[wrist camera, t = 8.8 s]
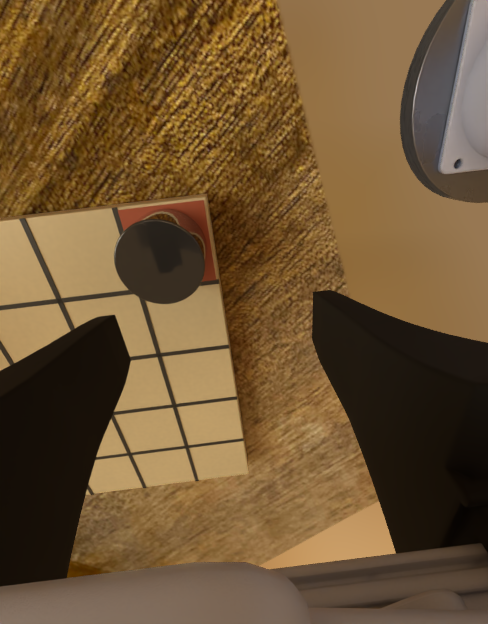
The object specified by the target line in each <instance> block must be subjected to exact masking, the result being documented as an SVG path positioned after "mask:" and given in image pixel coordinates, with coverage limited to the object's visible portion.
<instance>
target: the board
mask: <svg viewBox="0 0 488 624" xmlns="http://www.w3.org/2000/svg"><path fill="white" fill-rule="evenodd" d="M157 209H173V210H177V211H180V212H182V213H184V214H186V215H188V216H189V217H191V218H192V219H193V220H194V221H195V222H196V223H197V224H198V225H199V227H200V228H201V229H202V231H203V233H204V235H205V238H206V242H207V259H206V266H205V272H204V277H203V280H202V282H201V284H200V286H199V287H198V289H197V290H196V291H195V292H194V293H193V294H192V295H191V296H189V297H188V298H186V299H184V300H182V301H180V302H177V303H172V304H156V303H152V302H148V301H146V300H143V299H141V298H139V297H137V296H136V295H135V294H133V293H132V292H131V291H130V290H128V288H127V287H126V286H125V285H124V284H123V282H122V281H121V280H120V278H119V276H118V274H117V271H116V268H115V264H114V250H115V246H116V243H117V240H118V238H119V237H120V235H121V234H122V232H123V231H124V230H125V229H126V228H128V227H129V226H130V225H132V224H133V223H134V222H135V221H137V220H138V219H139V218H141V217H142V216H143V215H145V214H146V213H148V212H150V211H153V210H157ZM108 315H115V316H116V319H117V322H118V325H119V327H120V330H121V333H122V336H123V339H124V341H125V344H126V347H127V350H128V353H129V356H130V358H131V363H130V367H129V372H128V376H127V380H126V383H125V386H124V389H123V391H122V394H121V396H120V398H119V401H118V403H117V406H116V408H115V410H114V413H113V415H112V418H111V420H110V422H109V425H108V427H107V430H106V432H105V434H104V437H103V439H102V442H101V445H100V447H99V450H98V453H97V456H96V460H95V463H94V466H93V470H92V473H91V477H90V480H89V484H88V487H87V491H86V495H87V494H91V495H94V494H95V493H103V492H111V491H118V490H126V489H134V488H141V487H143V488H146V487H149V486H157V485H165V484H172V483H180V482H188V481H199V480H203V479H211V478H219V477H226V476H234V475H242V474H249V469H248V458H247V452H246V445H245V439H244V432H243V425H242V419H241V412H240V406H239V399H238V393H237V386H236V380H235V373H234V366H233V360H232V353H231V347H230V340H229V334H228V327H227V321H226V314H225V307H224V301H223V294H222V288H221V281H220V275H219V268H218V261H217V255H216V248H215V242H214V235H213V229H212V222H211V216H210V209H209V202H208V196H207V194H199V195H191V196H182V197H174V198H166V199H157V200H149V201H140V202H132V203H123V204H115V205H106V206H98V207H89V208H81V209H73V210H64V211H56V212H47V213H39V214H30V215H22V216H13V217H5V218H0V370H2V369H4V368H6V367H8V366H10V365H12V364H14V363H16V362H18V361H20V360H21V359H23V358H25V357H27V356H29V355H30V354H32V353H34V352H36V351H37V350H39V349H41V348H43V347H45V346H46V345H48V344H50V343H51V342H53V341H55V340H56V339H58V338H60V337H61V336H63V335H65V334H67V333H68V332H70V331H72V330H73V329H75V328H77V327H78V326H80V325H82V324H84V323H86V322H87V321H89V320H91V319H94V318H96V317H99V316H108Z"/></svg>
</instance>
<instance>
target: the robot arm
mask: <svg viewBox="0 0 488 624" xmlns="http://www.w3.org/2000/svg"><path fill="white" fill-rule="evenodd" d="M456 160H458V165H457V166H456V167H455V168H454V163H455V161H456ZM487 169H488V0H471V2H470V5H469V10H468V15H467V20H466V25H465V30H464V35H463V41H462V46H461V51H460V56H459V61H458V66H457V71H456V76H455V81H454V87H453V92H452V97H451V102H450V107H449V112H448V117H447V122H446V127H445V132H444V138H443V143H442V148H441V153H440V158H439V163H438V171H439V172H440V173H441V174H453V173H461V172H470V171H478V170H487ZM312 340H313V343H314V346H315V349H316V352H317V355H318V358H319V360H320V363H321V365H322V367H323V369H324V371H325V373H326V374H327V376H328V378H329V380H330V382H331V384H332V386H333V388H334V390H335V392H336V394H337V396H338V398H339V400H340V402H341V403H342V405H343V407H344V409H345V411H346V414H347V416H348V418H349V420H350V422H351V425H352V427H353V430H354V433H355V435H356V438H357V440H358V443H359V446H360V448H361V451H362V454H363V456H364V459H365V462H366V465H367V467H368V470H369V473H370V476H371V478H372V481H373V484H374V487H375V490H376V493H377V496H378V499H379V502H380V504H381V508H382V511H383V514H384V516H385V520H386V523H387V526H388V529H389V532H390V535H391V539H392V542H393V545H394V548H395V551H396V554H390V555H381V556H374V557H366V558H357V559H350V560H341V561H334V562H326V563H317V564H309V565H301V566H294V567H285V568H278V569H266V568H263V567H259V566H256V565H253V564H250V563H246V562H194V563H186V564H178V565H170V566H161V567H153V568H145V569H137V570H129V571H121V572H113V573H105V574H97V575H89V576H81V577H73V578H67V573H68V568H69V563H70V558H71V553H72V549H73V544H74V540H75V536H76V531H77V527H78V522H79V518H80V514H81V510H82V506H83V502H84V499H85V495H86V491H87V487H88V484H89V480H90V477H91V473H92V470H93V466H94V463H95V460H96V456H97V453H98V450H99V447H100V445H101V442H102V439H103V437H104V434H105V432H106V430H107V427H108V425H109V422H110V420H111V418H112V415H113V413H114V410H115V408H116V406H117V403H118V401H119V398H120V396H121V394H122V391H123V389H124V386H125V383H126V380H127V376H128V372H129V367H130V363H131V358H130V356H129V353H128V350H127V347H126V344H125V341H124V339H123V336H122V333H121V330H120V327H119V325H118V322H117V319H116V316H115V315H108V316H99V317H96V318H94V319H91V320H89V321H87V322H86V323H84V324H82V325H80V326H78V327H77V328H75V329H73V330H72V331H70V332H68V333H67V334H65V335H63V336H61V337H60V338H58V339H56V340H55V341H53V342H51V343H50V344H48V345H46V346H45V347H43V348H41V349H39V350H37V351H36V352H34V353H32V354H30V355H29V356H27V357H25V358H23V359H21V360H20V361H18V362H16V363H14V364H12V365H10V366H8V367H6V368H4V369H2V370H0V624H488V343H486V342H480V341H475V340H471V339H467V338H462V337H458V336H453V335H449V334H445V333H441V332H437V331H434V330H430V329H427V328H424V327H420V326H418V325H414V324H411V323H408V322H405V321H402V320H400V319H397V318H395V317H392V316H389V315H387V314H384V313H382V312H379V311H377V310H375V309H372V308H370V307H368V306H366V305H364V304H361V303H359V302H357V301H355V300H353V299H350V298H348V297H346V296H344V295H342V294H339V293H337V292H334V291H331V290H327V291H318V292H313V325H312Z"/></svg>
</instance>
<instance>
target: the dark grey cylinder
mask: <svg viewBox="0 0 488 624" xmlns="http://www.w3.org/2000/svg"><path fill="white" fill-rule="evenodd" d="M206 259H207V242H206V238H205V235H204V233H203V231H202V229H201V228H200V227H199V225H198V224H197V223H196V222H195V221H194V220H193V219H192V218H191V217H189V216H188V215H186V214H184V213H182V212H180V211H177V210H173V209H157V210H153V211H150V212H148V213H146V214H145V215H143V216H142V217H141V218H139V219H138V220H137V221H135V222H134V223H133V224H132V225H130V226H129V227H128V228H126V229H125V230H124V231H123V232H122V234H121V235H120V237H119V238H118V240H117V243H116V246H115V250H114V264H115V268H116V271H117V274H118V276H119V278H120V280H121V281H122V282H123V284H124V285H125V286H126V287H127V288H128V290H130V291H131V292H132V293H133V294H135V295H136V296H137V297H139V298H141V299H143V300H146V301H148V302H152V303H156V304H172V303H177V302H180V301H182V300H184V299H186V298H188V297H189V296H191V295H192V294H193V293H194V292H195V291H196V290H197V289H198V287H199V286H200V284H201V282H202V280H203V277H204V272H205V266H206Z"/></svg>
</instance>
